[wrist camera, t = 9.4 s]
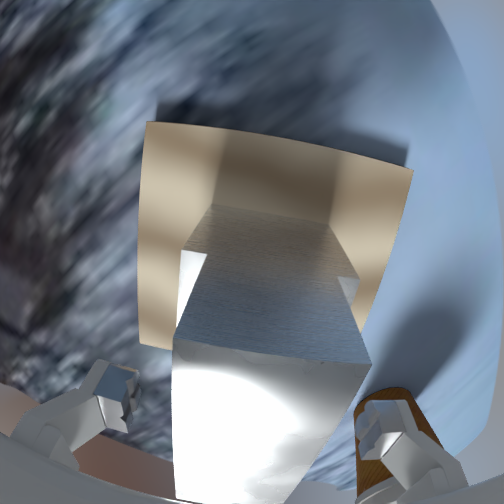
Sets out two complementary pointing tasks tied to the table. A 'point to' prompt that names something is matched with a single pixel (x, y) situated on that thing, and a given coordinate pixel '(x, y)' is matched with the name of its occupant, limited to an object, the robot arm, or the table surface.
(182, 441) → the grey stepped block
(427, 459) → the robot arm
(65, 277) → the table surface
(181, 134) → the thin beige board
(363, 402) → the disposable coffee cup
